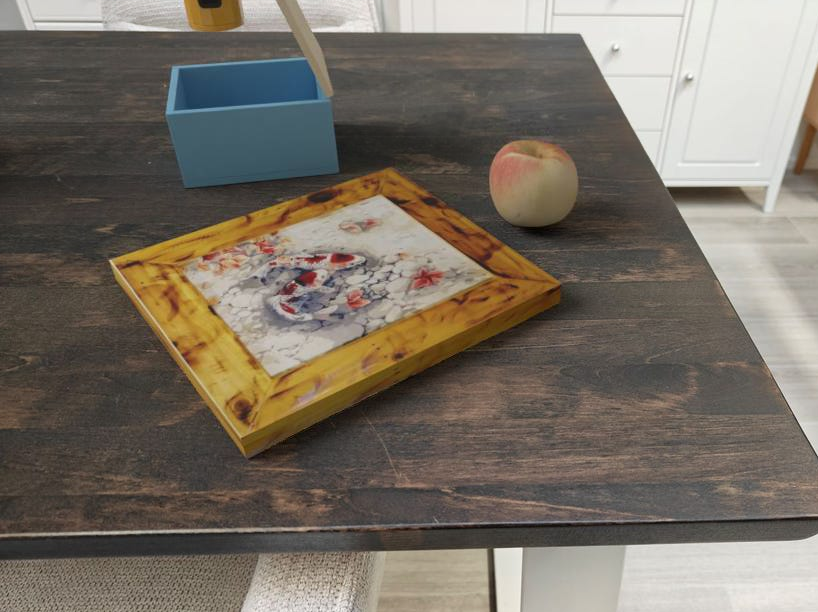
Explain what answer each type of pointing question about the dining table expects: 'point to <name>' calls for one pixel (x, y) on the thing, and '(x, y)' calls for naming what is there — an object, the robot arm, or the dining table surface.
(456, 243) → the picture frame
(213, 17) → the cup
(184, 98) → the box
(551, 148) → the apple
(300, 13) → the cooler lid
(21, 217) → the dining table surface
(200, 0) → the robot arm
